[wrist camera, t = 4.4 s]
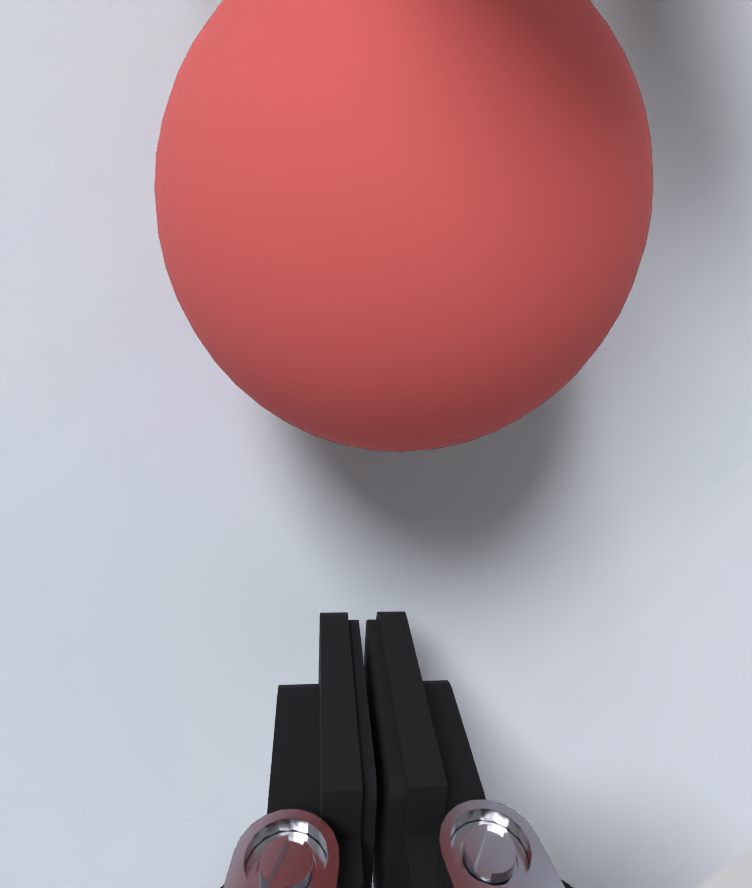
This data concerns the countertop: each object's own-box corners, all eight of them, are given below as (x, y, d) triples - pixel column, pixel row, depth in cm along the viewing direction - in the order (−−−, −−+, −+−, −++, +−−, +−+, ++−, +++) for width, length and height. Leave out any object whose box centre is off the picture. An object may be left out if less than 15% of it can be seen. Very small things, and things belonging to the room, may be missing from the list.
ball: (894, -64, 5) (575, 197, 11) (250, -459, 4) (276, 51, 10) (650, 570, 5) (458, 492, 11) (-61, 287, 4) (146, 367, 10)
